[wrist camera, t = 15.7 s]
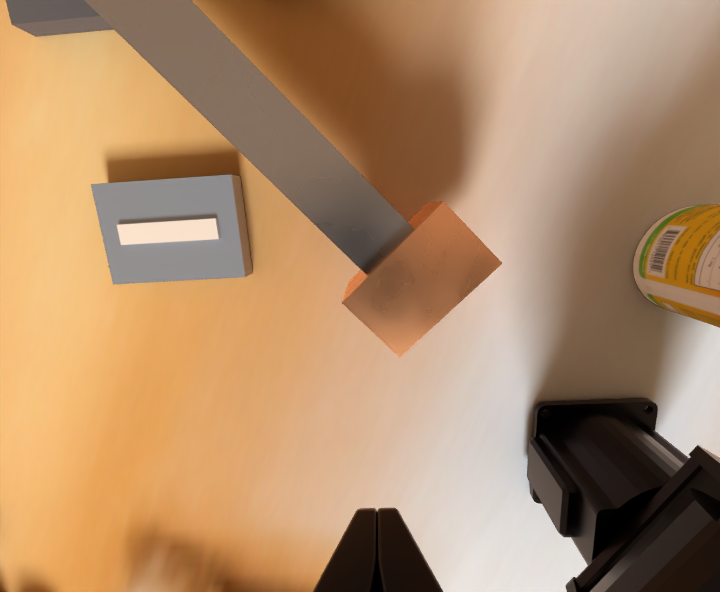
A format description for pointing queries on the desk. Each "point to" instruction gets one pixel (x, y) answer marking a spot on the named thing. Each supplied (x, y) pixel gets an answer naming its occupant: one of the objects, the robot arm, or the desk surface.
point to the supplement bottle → (683, 263)
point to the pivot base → (55, 17)
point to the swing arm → (312, 174)
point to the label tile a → (174, 229)
